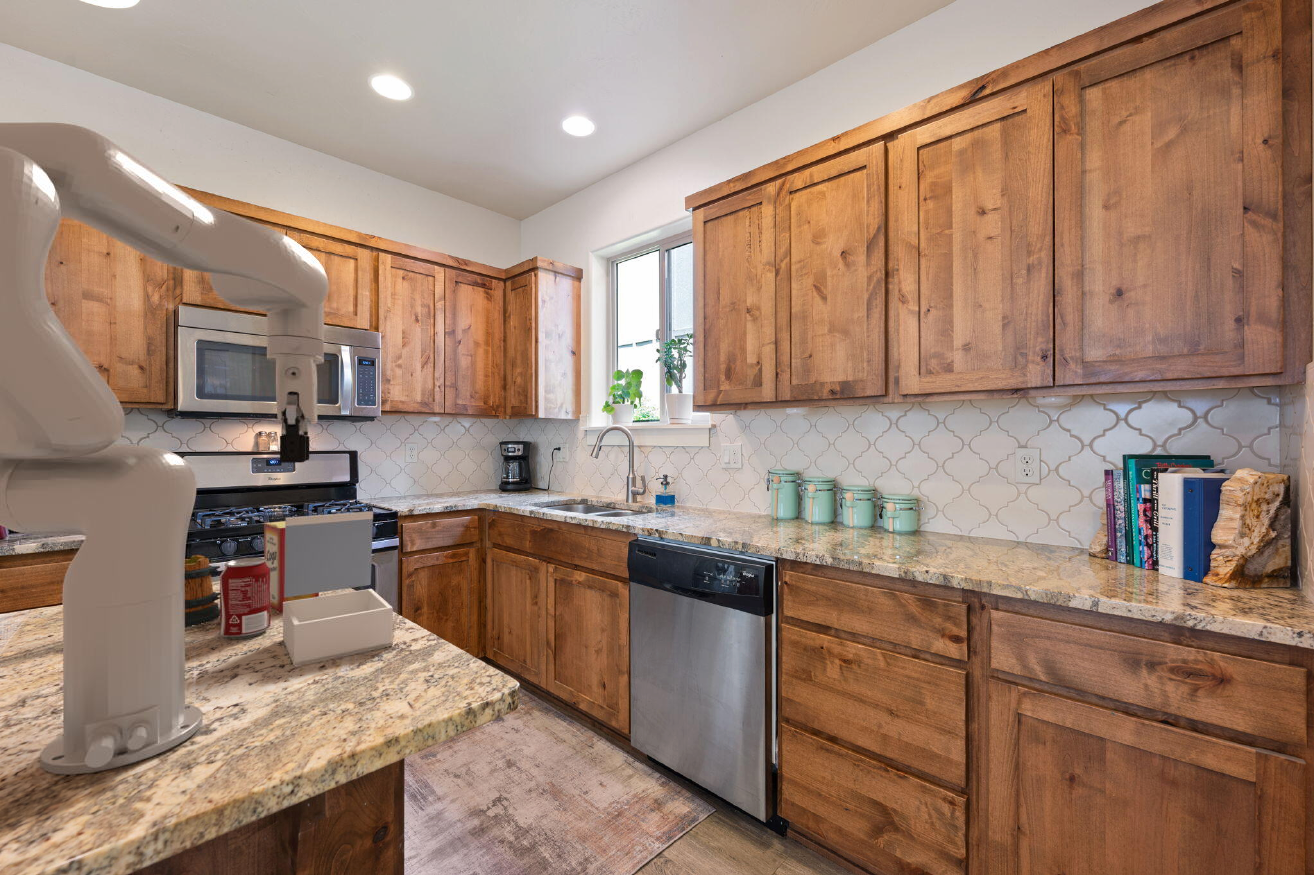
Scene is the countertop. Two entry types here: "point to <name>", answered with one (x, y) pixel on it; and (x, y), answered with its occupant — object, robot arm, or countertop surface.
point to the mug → (199, 591)
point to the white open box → (336, 626)
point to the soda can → (244, 598)
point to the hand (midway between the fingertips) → (295, 461)
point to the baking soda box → (278, 565)
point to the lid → (327, 552)
